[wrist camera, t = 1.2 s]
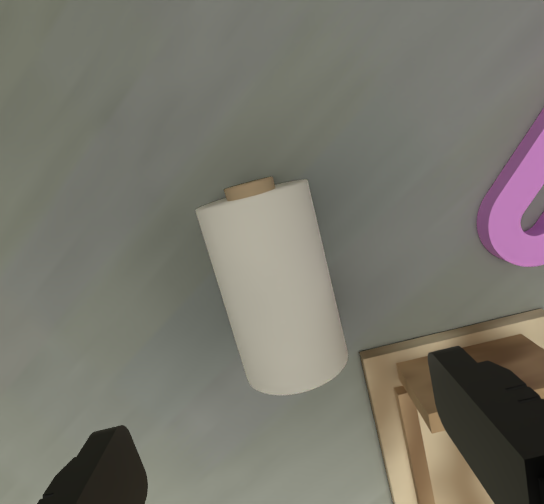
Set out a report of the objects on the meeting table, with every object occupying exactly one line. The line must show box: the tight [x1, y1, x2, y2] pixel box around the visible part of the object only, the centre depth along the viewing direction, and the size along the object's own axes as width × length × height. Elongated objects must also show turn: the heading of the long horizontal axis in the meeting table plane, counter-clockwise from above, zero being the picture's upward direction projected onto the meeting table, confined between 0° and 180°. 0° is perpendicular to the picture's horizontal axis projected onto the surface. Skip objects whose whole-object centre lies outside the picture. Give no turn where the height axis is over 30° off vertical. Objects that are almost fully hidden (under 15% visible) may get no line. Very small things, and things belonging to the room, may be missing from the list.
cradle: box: [359, 309, 544, 504], centre depth 24 cm, size 12×18×6 cm, turn 15°
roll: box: [195, 177, 348, 395], centre depth 21 cm, size 11×6×6 cm, turn 15°
